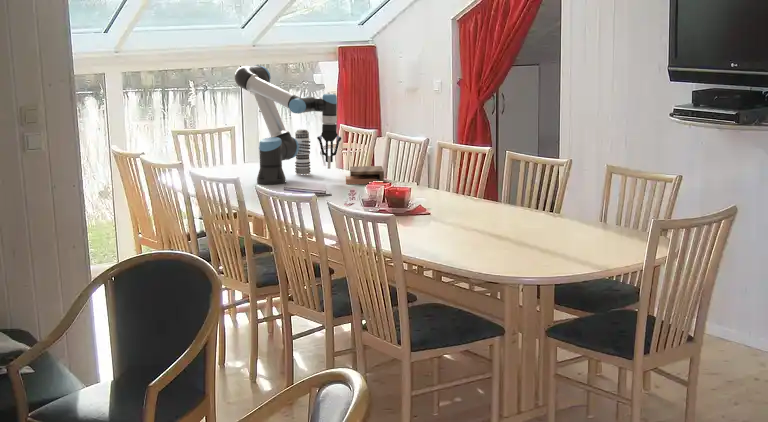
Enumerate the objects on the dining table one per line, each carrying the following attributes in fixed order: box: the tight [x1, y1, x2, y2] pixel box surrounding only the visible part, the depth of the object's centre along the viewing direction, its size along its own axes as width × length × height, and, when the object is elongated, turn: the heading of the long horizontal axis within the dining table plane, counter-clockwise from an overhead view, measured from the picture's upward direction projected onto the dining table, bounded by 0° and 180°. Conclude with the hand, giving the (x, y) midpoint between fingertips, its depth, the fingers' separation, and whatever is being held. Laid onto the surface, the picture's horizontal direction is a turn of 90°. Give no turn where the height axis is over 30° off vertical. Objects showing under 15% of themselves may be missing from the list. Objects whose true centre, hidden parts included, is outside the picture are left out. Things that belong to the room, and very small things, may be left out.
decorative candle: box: [294, 129, 312, 176], centre depth 533 cm, size 9×9×25 cm
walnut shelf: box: [349, 165, 385, 182], centre depth 505 cm, size 17×20×7 cm
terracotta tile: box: [345, 175, 377, 185], centre depth 505 cm, size 16×11×3 cm
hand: (329, 168), depth 504 cm, fingers closed
